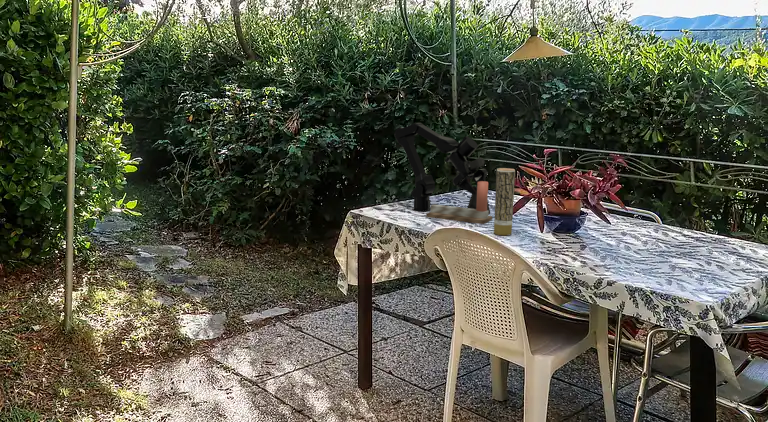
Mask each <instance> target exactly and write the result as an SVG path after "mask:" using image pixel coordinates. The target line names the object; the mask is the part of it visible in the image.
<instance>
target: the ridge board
mask: <svg viewBox="0 0 768 422" xmlns="http://www.w3.org/2000/svg"><path fill="white" fill-rule="evenodd" d="M430 208H431V209H430V211H429V212H426V214H425V217H426V218H432V219H439V220H448V221H456V222H462V221H464V223H472V224H480V225H485V224H487V223H488V222H490V221H492V220H493V216H492V215H489V214H488V213H489V211H488V210H487V211H484V212H481V211H476V209H470V208H467V207H462V206H461V207H460V206H452V205H451V206H450V205H444V204H435V203H434V204H430Z"/></svg>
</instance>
